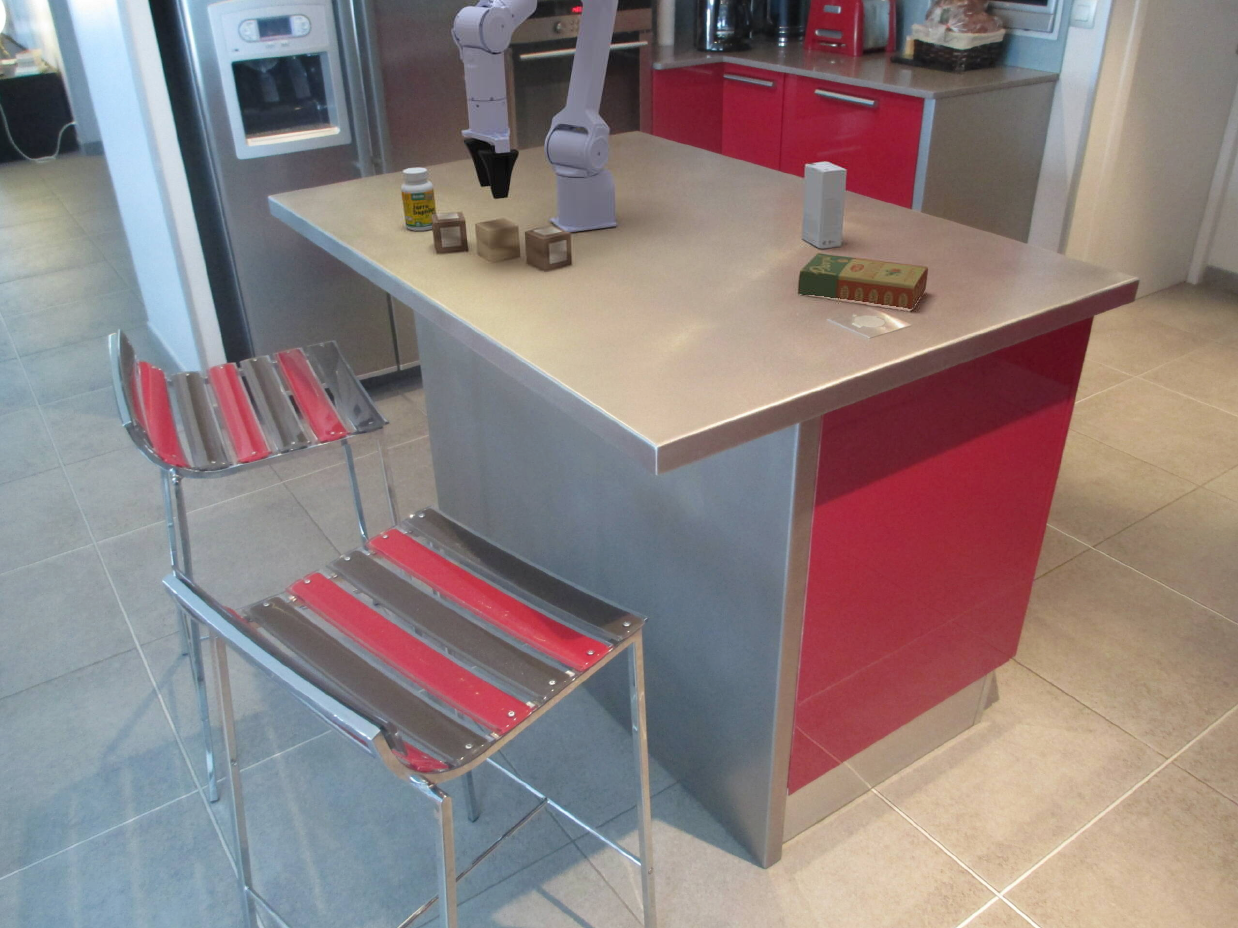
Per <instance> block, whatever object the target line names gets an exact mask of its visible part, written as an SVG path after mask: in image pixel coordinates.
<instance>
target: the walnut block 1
mask: <svg viewBox="0 0 1238 928" xmlns="http://www.w3.org/2000/svg"><path fill="white" fill-rule="evenodd" d="M431 221H432V229H431V230H432V236H433V237H432V238H433V245H434V250H435V252H436V254H447V253H460V252H469V245H468V244H469V243H468V235H467V226H466V225H467V224H466V223H467V222H466V218H465V216H464V213H463V211H455V212H442V213H441V212H440V213H436V214H431Z"/></svg>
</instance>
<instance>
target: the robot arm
mask: <svg viewBox="0 0 1238 928" xmlns="http://www.w3.org/2000/svg"><path fill="white" fill-rule="evenodd" d="M580 2H581V3H582V9H581V14H580V19H579V20H580V21H579V26H578V27H579V28H578V31H577V32H578V33H577V39H576V44H575V51H574V56H573V57H574V58H573V62H572V67H571V68H572V70H571V75H570V80H569V87H568V93H567V97H566V98H567V99H566V104H565V107H564V108H563V109H562V110H561V111H560V112H558V113H556V114H555V115H554V116H553V117H552V120H551V125H550V128H549V131H548V133H547V135H546V137H545V140H544V144H543V145H544V146H543V150H544V151H543V152H544V156H545V159H546V161H547V162H548V164H549V165H551V168H552V169H551V170H552V172H555V183H556V184H555V185H556V201H557V203H556V206H557V216H556V217H550V222H551V223H552V224H553V225H554V226H555V227H558V228H560V229H562V230H565V231H567V232H570V233H575V232H582V231H583V232H584V231H589V230H598V229H604V228H605V229H606V228H613V227H617V226H618V223H617V221H616V188H615V187H616V185H615V181H614V177H613V174H612V172H611V171H610V170H609V169H608V168H605V167H606V165H607V163H608V161H609V158H610V143H609V142H610V141H609V139H610V137H609V136H610V131H611V128H610V126H608V125H609V124H607V123H606V121H605V120H604V119H603V118H602V117H601V115H600V114H599V113H600V106H601V101H602V95H603V89H604V85H605V80H606V79H605V78H606V74H607V73H606V72H607V67H608V60H609V57H610V56H609V55H610V50H611V46H612V39H613V38H612V37H613V33H614V27H615V21H616V15H617V10H618V4H619V0H580ZM537 6H538V0H479V1H478V2H477V4H476V5H475V6H472V5H471V6H465V7H463V8H462V9H461V10H459V13H457V15H456V16H455V19H454V20H453V28H452V29H451V31H450V32H451V36H452V39H453V41H454V43H455V45H456V46H457V48H458V50H459V56H460V60H461V62H462V63H463V67H464V83H465V91H466V92H465V93H466V104H467V114H468V126H469V128H468V129H463V130H461V136H462V137H464V138H465V139H463V144H464V145H465V147H466V148H467V150H468V153H469V154H470V156H471V159H472V163H473V165H474V166H473V167H474V169H475V172H476V176H477V179H478V183H479V186H480V187H481V188H484V187H485V188H486V187H490V192H491V195H492V198H493V199H494V200H498V199H506V198H509V193H510V189H511V188H510V187H511V186H510V185H511V180H512V174H513V170H514V167H515V164H516V162H517V159H518V157H519V155H520V151H519V150H518V149H517V148H512V149H511V146H510V135H511V128H510V126H509V117H508V115H509V114H508V113H509V112H508V102H507V101H508V100H507V87H506V85H507V83H506V73H505V72H506V71H505V56H504V51H506V50H507V49H508V47H509V45H510V43H511V40H512V35H513V33H514V32H515V30H516V29H517V28H518V27H519V26H520V25H521V24H522V23H523V22H525V21H526V20H527V19H528V18H529V17H530V16H531V15H533V13H535V11H536V9H537ZM576 129H580V130H576ZM581 129H582V130H581ZM583 130H586V131H583Z"/></svg>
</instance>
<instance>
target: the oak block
mask: <svg viewBox="0 0 1238 928" xmlns="http://www.w3.org/2000/svg"><path fill="white" fill-rule="evenodd" d="M474 227H475V239H476V250H477V255H478V256H480V257H482V258H483V259H485V260H487V261H488V262H490V263H492V264H493V263H497V262H501V261H507V260H511V259H516V258H521V246H520V232H519V231H520V230H519V225H518V224H516V223H514V222H512V221H511V220H509V219H507V218H504V217H503V218H498V219H497V218H496V219H491V220H486V221H481V222H475V223H474Z"/></svg>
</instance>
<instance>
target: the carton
mask: <svg viewBox="0 0 1238 928" xmlns="http://www.w3.org/2000/svg"><path fill="white" fill-rule="evenodd" d="M928 275H929V269H928V266H923V265H922V266H921V265H915V264H906V263H898V262H891V261H881V260H876V259H875V260H874V259H867V258H860V257H859V258H858V257H852V256H842V255H833V254H827V253H820V252H817V253H816V254H815V256H814V257H813V258H812V259H810V261H808V263H807V264H805V265H804V266H803V267H802V268H801V269H800V271H799V275H798V285H797V295H799V294H802V295H801V296H804V295H815V296H824V297H830V298H838V299H839V298H840V299H847V300H855V301H862V302H869V303H874V304H881V305H889V306H896V307H903V308H908V309H912V308H913V307H914V306H915V304H916V303H917V301H918V300H919V298H920V297H921V296H922V295H923V293H924V291H925V292H926V289H927V280H928ZM923 296H924V295H923ZM923 296H922V297H923ZM919 301H920V300H919ZM917 304H918V303H917ZM915 307H916V306H915Z"/></svg>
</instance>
